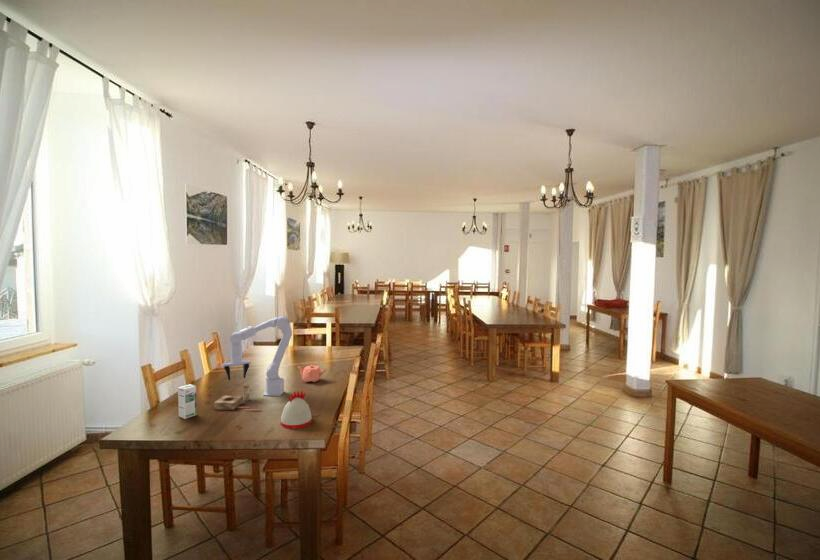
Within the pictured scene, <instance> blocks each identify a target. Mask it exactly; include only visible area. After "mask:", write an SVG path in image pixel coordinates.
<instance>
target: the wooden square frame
mask: <svg viewBox="0 0 820 560" xmlns="http://www.w3.org/2000/svg"><path fill="white" fill-rule="evenodd" d="M243 403H244V401H243V395H223V396H221V397H220V398H219V399H216V401H214V402H213V410H221V411H222V410H226V411H227V410H229V411H234V410H235V409H237V408H236V407H240V406H241V405H242V404H243Z"/></svg>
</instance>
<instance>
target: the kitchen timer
mask: <svg viewBox="0 0 820 560" xmlns="http://www.w3.org/2000/svg"><path fill="white" fill-rule="evenodd" d="M305 396H306V392H305V391H303V390H302V389H301V391H300V392H299V390H297V391H296V390H294V391H293V394H292V393H291V394H290V397H291V398H290V397H289V396H287V399H288V402H287V403H286V404H285V405H284V407H283V409H282V413H281V416H280V426H281V427H283V429H289V430H294V429H301V428H305V427H307V426H309V425H310V424H311V423H312V422H313V421H312V412H311V409H310V404H308V403H307V402H306V401H305V400H304V398H305Z"/></svg>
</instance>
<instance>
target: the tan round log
mask: <svg viewBox="0 0 820 560" xmlns="http://www.w3.org/2000/svg"><path fill="white" fill-rule="evenodd" d="M242 389H243V393H242V394H243V395H242V396H243V402H248V401H250V384H248V383H247V384H244V385H243V386H242Z"/></svg>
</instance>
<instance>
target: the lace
mask: <svg viewBox="0 0 820 560" xmlns="http://www.w3.org/2000/svg"><path fill="white" fill-rule="evenodd" d="M235 409H244V410H245V411H246V412H262V411H263V410H262V409H252V407H251V406H238V407H236V408H235Z"/></svg>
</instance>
